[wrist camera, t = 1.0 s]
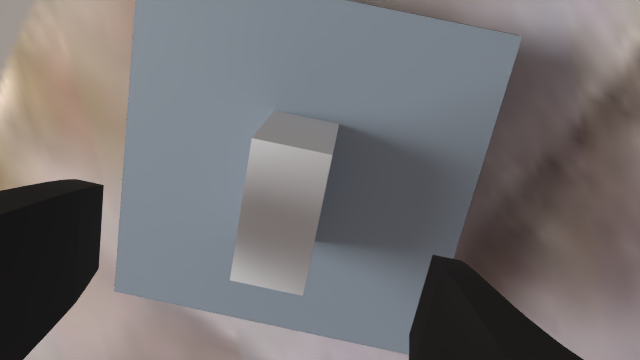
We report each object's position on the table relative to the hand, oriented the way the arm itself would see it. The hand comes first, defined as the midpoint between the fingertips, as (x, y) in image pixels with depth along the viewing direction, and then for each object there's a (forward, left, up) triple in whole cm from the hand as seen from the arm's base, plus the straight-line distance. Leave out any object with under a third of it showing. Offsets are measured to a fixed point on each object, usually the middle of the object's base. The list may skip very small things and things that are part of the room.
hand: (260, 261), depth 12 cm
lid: (0, 0, -6) cm, 6 cm away
